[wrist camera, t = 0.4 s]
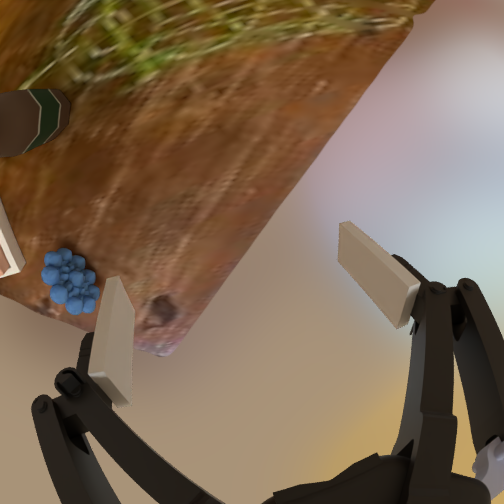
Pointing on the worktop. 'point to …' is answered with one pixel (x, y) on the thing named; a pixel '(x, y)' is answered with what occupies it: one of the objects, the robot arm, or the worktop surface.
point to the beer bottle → (31, 119)
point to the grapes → (70, 281)
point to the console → (10, 245)
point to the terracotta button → (3, 262)
